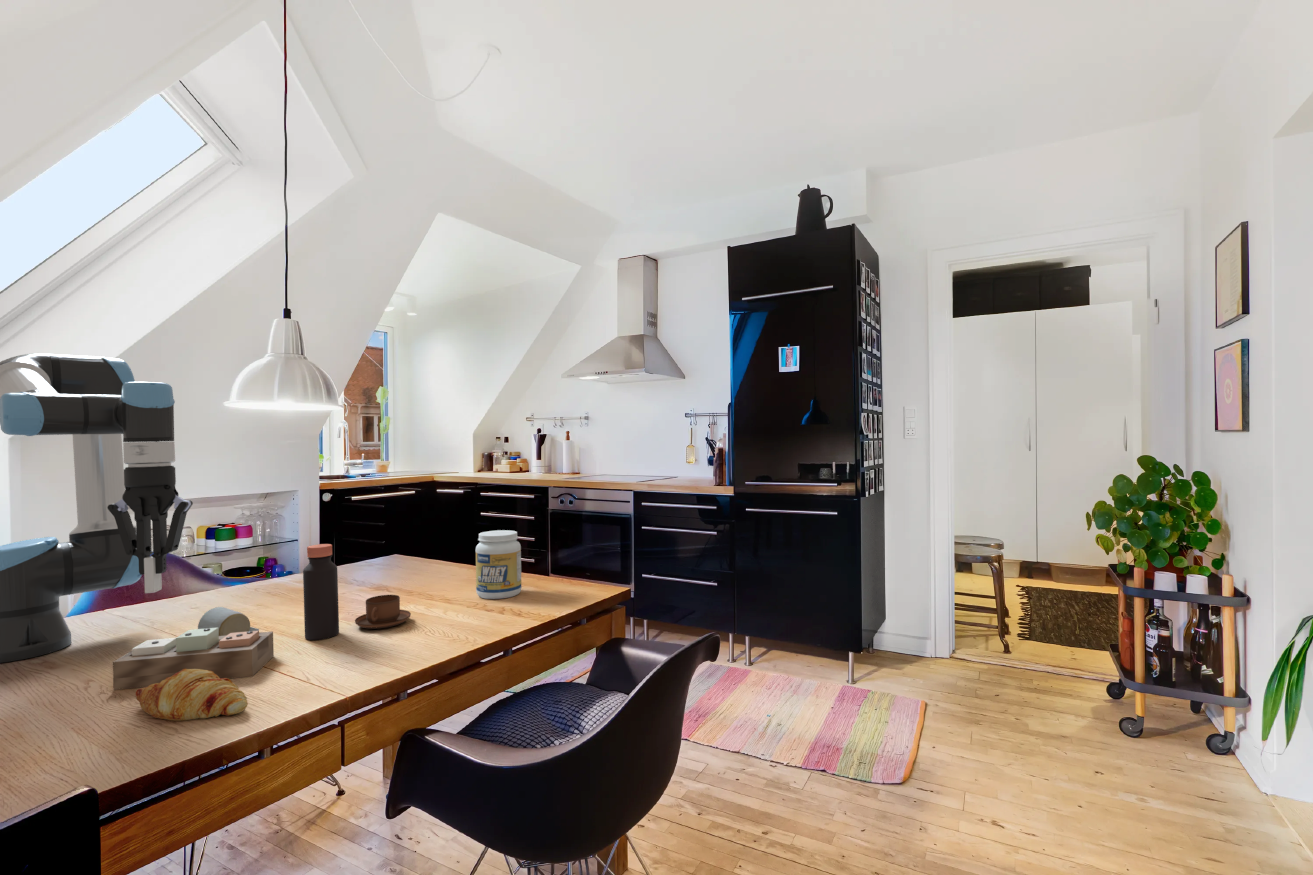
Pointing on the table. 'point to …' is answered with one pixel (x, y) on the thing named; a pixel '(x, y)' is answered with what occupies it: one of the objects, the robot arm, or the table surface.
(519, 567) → the supplement tub
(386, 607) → the cup and saucer
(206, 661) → the wooden tile tray
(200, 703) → the croissant
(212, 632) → the two pip tile
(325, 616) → the bottle
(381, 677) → the table surface
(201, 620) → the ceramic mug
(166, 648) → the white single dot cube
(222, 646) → the three pip tile
